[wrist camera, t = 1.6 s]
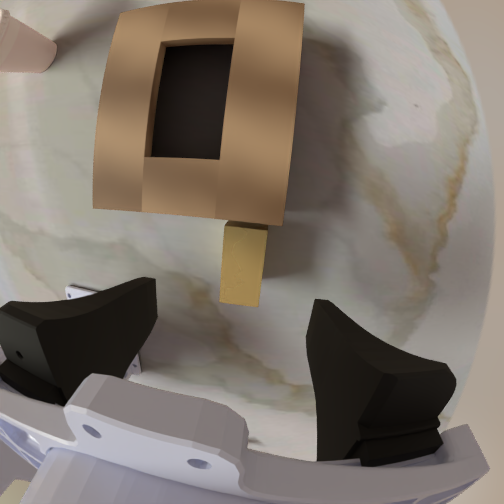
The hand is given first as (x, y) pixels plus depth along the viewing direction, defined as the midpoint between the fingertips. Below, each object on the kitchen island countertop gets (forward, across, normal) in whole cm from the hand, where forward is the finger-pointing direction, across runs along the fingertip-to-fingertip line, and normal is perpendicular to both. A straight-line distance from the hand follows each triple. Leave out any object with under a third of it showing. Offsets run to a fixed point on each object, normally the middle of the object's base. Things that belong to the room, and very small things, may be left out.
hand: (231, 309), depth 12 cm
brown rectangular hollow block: (+9, +4, -10) cm, 14 cm away
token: (+10, 0, 0) cm, 10 cm away
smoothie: (+10, +23, -18) cm, 31 cm away
